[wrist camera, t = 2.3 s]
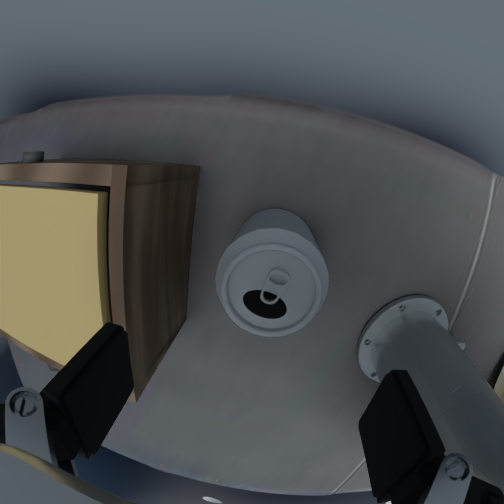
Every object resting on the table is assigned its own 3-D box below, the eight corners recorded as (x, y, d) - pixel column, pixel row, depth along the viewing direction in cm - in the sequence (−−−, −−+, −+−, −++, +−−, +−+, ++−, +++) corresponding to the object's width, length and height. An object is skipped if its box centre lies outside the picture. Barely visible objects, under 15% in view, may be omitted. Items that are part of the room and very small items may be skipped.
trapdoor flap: (108, 191, 14) (98, 193, 13) (119, 379, 18) (113, 387, 17) (-18, 183, 15) (-25, 184, 14) (0, 321, 19) (-5, 325, 18)
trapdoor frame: (200, 158, 26) (129, 150, 13) (185, 325, 32) (137, 409, 18) (62, 152, 27) (-26, 158, 14) (64, 290, 33) (-3, 337, 19)
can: (227, 262, 29) (194, 321, 18) (254, 195, 27) (234, 213, 15) (293, 290, 29) (299, 361, 18) (324, 225, 27) (355, 265, 15)
